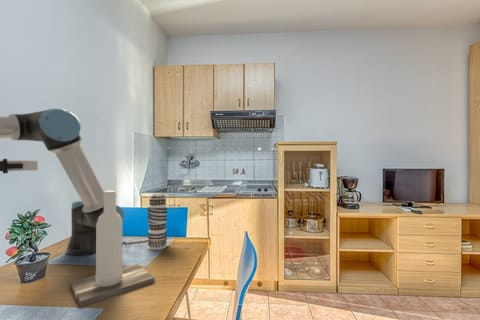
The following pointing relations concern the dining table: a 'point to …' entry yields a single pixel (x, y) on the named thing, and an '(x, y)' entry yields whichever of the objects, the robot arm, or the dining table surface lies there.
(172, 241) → the dining table surface
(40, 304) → the dining table surface
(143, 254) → the dining table surface
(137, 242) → the wooden handled claw tool
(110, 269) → the bottle
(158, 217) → the decorative candle
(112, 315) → the dining table surface
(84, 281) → the subfloor panel
